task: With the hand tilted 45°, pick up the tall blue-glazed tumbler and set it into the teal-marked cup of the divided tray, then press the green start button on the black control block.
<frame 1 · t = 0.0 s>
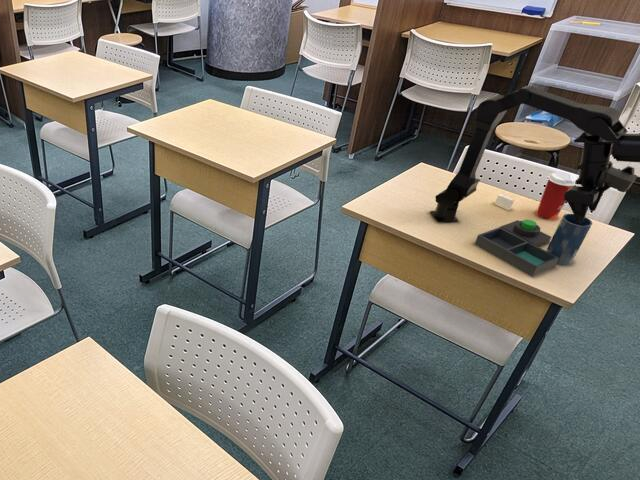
hand: (586, 216, 145), 15 cm above the table, tool pointing down, fingers open, 9 cm apart
tumbler: (557, 258, 156), on the table
start button: (528, 224, 163), point 5 cm above the table, slide at 0.2 cm
paper cup: (545, 216, 176), on the table
eraser: (502, 207, 181), on the table
control block: (522, 237, 166), on the table
divided tray: (513, 255, 158), on the table
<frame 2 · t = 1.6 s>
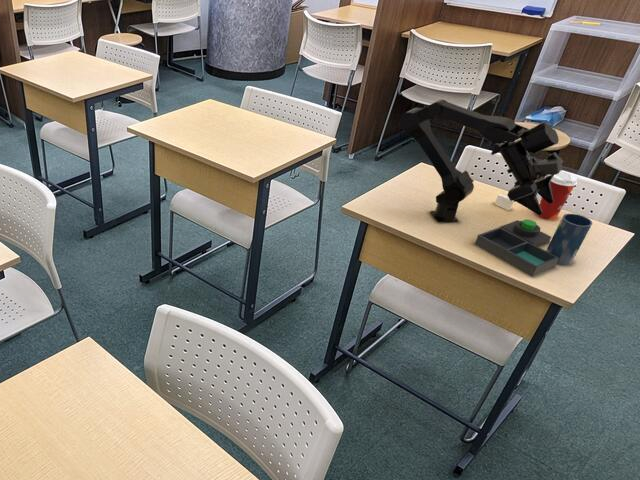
hand: (546, 208, 153), 13 cm above the table, tool tilted 45°, fingers open, 9 cm apart
nothing on the table moved.
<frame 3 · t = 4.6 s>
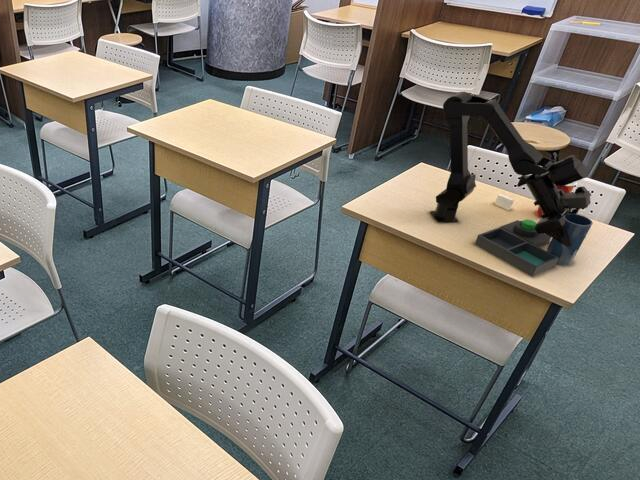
hand: (573, 241, 152), 7 cm above the table, tool tilted 45°, fingers closed on tumbler, 7 cm apart
tumbler: (557, 258, 156), on the table, touching gripper
everything else where it was.
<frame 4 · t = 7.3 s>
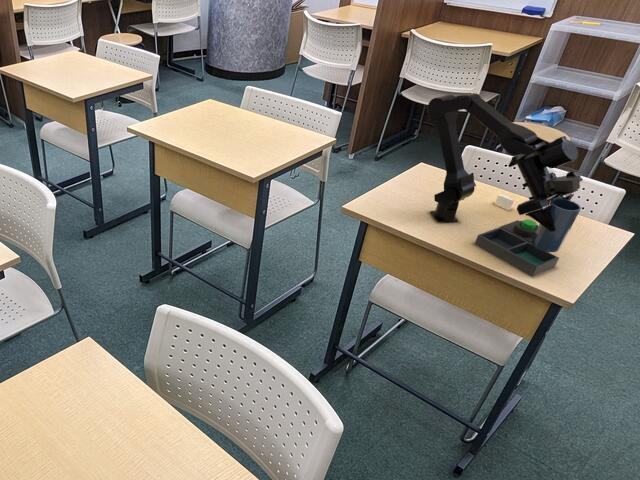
hand: (560, 227, 147), 12 cm above the table, tool tilted 45°, fingers closed on tumbler, 7 cm apart
tumbler: (545, 245, 152), point 6 cm above the table, touching gripper
everything else where it was.
when the fingers open (7 cm above the table, at t = 10.1 s): tumbler stays where it is, resting on divided tray.
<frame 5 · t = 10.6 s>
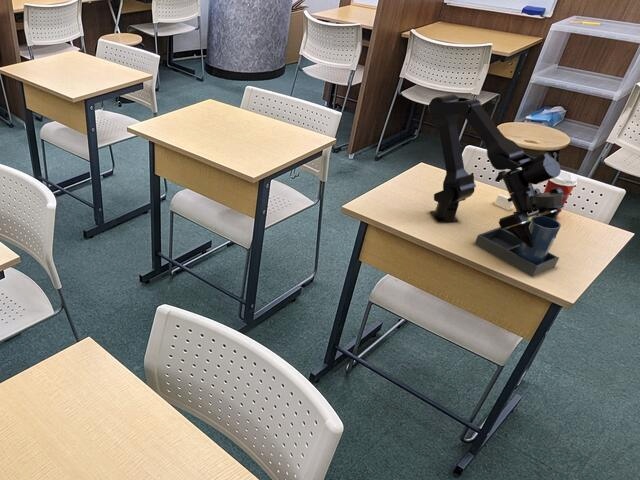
hand: (543, 242, 149), 8 cm above the table, tool tilted 45°, fingers open, 9 cm apart
tumbler: (527, 261, 155), point 1 cm above the table, touching divided tray
everything else where it was.
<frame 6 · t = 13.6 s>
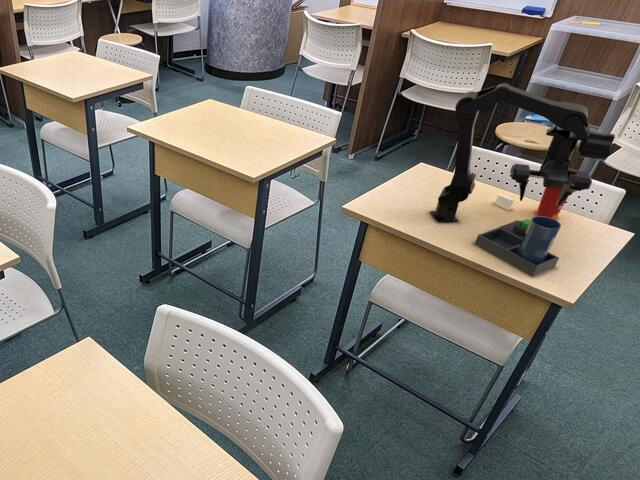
hand: (538, 202, 158), 12 cm above the table, tool pointing down, fingers open, 9 cm apart
nothing on the table moved.
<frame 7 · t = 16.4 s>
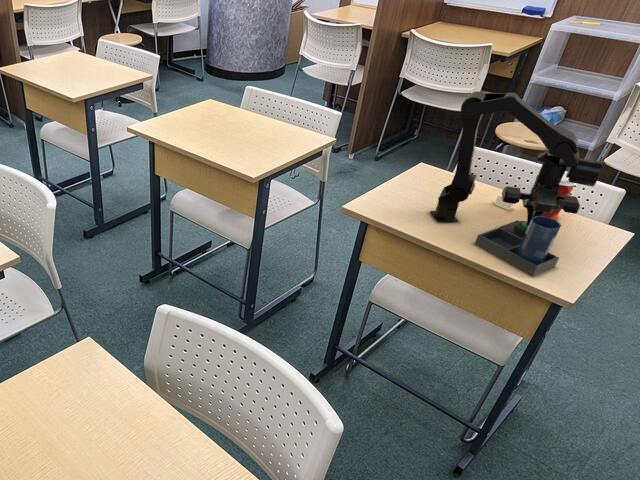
hand: (528, 224, 163), 5 cm above the table, tool pointing down, fingers closed, pressing on start button
start button: (527, 227, 164), point 4 cm above the table, slide at -0.7 cm, touching gripper
everything else where it was.
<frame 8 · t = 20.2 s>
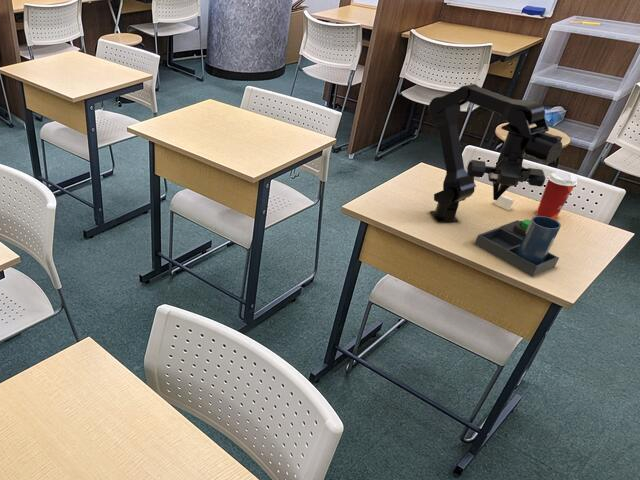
hand: (494, 199, 159), 13 cm above the table, tool pointing down, fingers closed
start button: (528, 224, 163), point 5 cm above the table, slide at 0.2 cm
everything else where it was.
at the end: tumbler 0.2 cm from the target spot in the divided tray, point 0.6 cm above the divided tray's base; start button pushed in 1.0 cm at the most during the clip, back to 0.2 cm at the end; start button slide at 0.2 cm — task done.
